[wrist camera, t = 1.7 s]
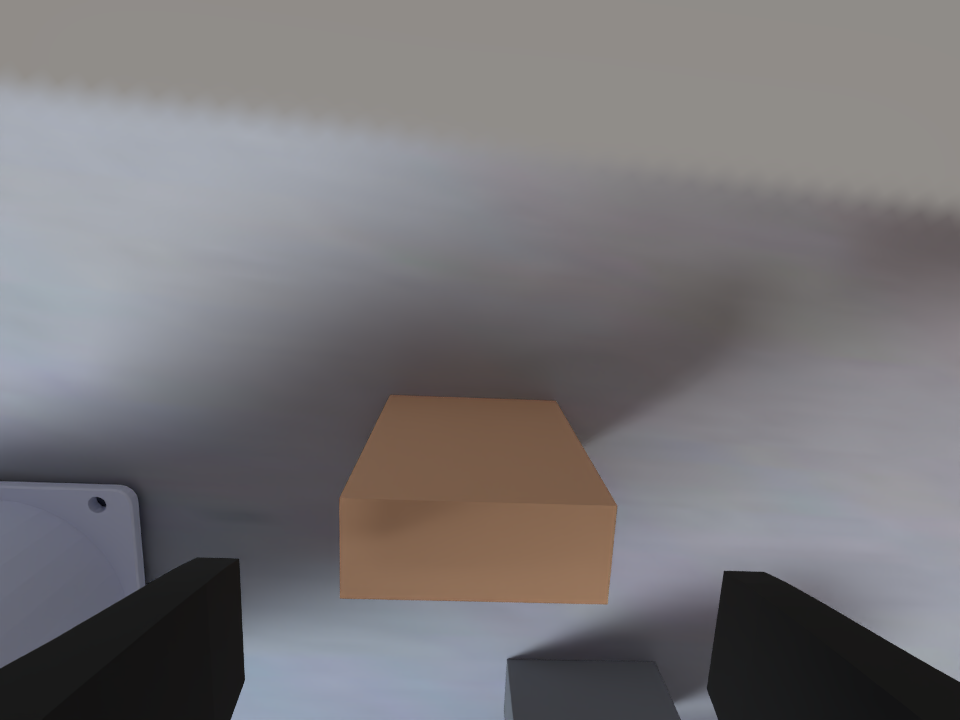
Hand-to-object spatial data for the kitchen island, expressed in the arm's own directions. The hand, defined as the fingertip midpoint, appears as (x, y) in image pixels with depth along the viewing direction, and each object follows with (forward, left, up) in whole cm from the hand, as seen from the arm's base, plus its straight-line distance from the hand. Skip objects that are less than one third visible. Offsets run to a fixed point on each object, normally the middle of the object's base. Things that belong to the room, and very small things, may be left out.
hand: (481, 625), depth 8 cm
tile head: (0, 0, -9) cm, 9 cm away
